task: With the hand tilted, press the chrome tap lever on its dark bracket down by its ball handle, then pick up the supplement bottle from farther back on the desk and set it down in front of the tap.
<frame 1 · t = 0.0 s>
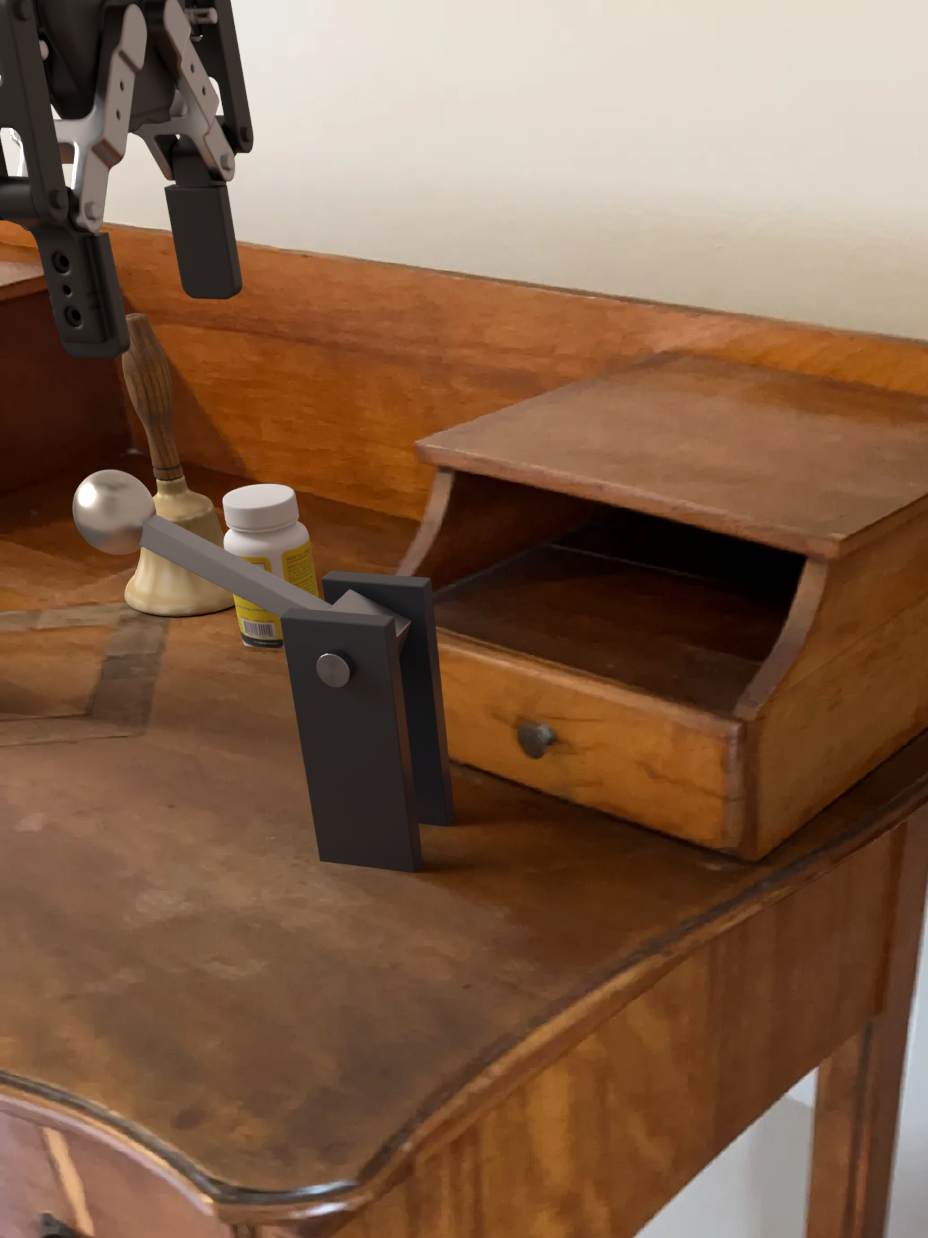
hand: (159, 325, 55), 23 cm above the table, tool pointing down, fingers open, 8 cm apart
tap lever: (237, 575, 61), point 13 cm above the table, hinge at 24.0°
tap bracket: (393, 875, 68), on the table
hand bell: (193, 594, 96), on the table
supplement bottle: (284, 644, 89), on the table
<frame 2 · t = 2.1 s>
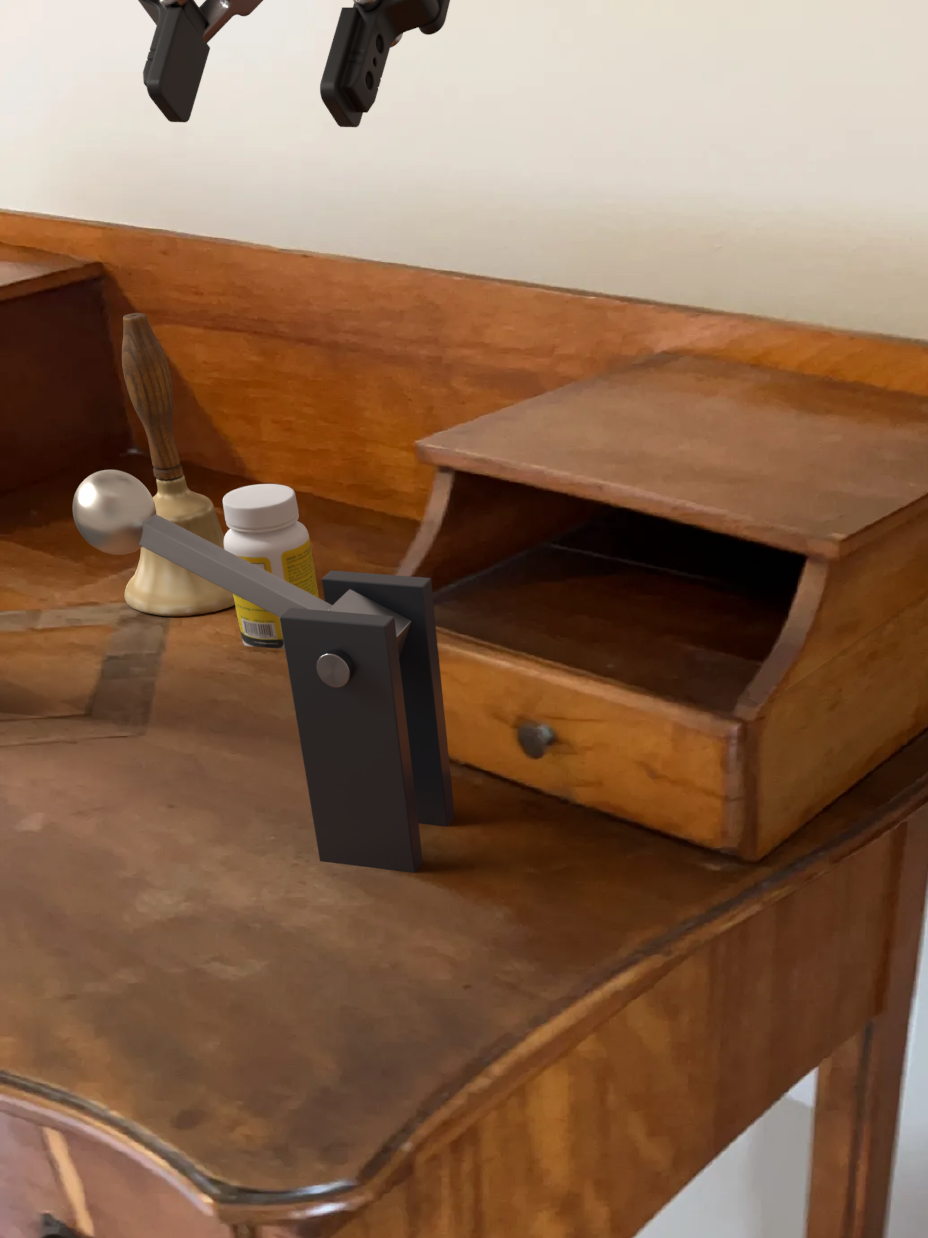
hand: (250, 111, 63), 28 cm above the table, tool tilted 45°, fingers open, 8 cm apart
nothing on the table moved.
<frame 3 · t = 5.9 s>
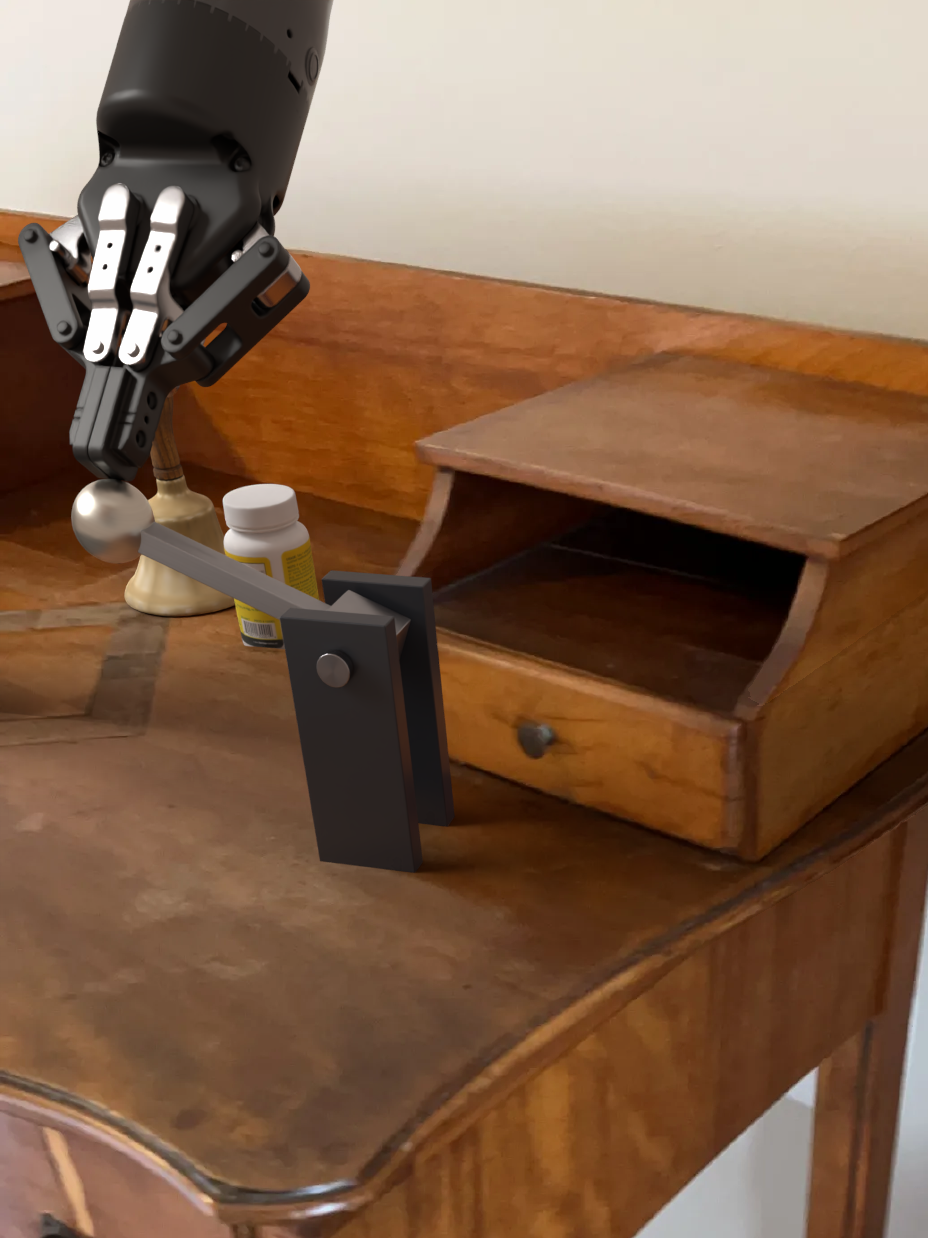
hand: (102, 470, 60), 17 cm above the table, tool tilted 45°, fingers closed
tap lever: (236, 580, 61), point 13 cm above the table, hinge at 21.9°, touching gripper
everything else where it was.
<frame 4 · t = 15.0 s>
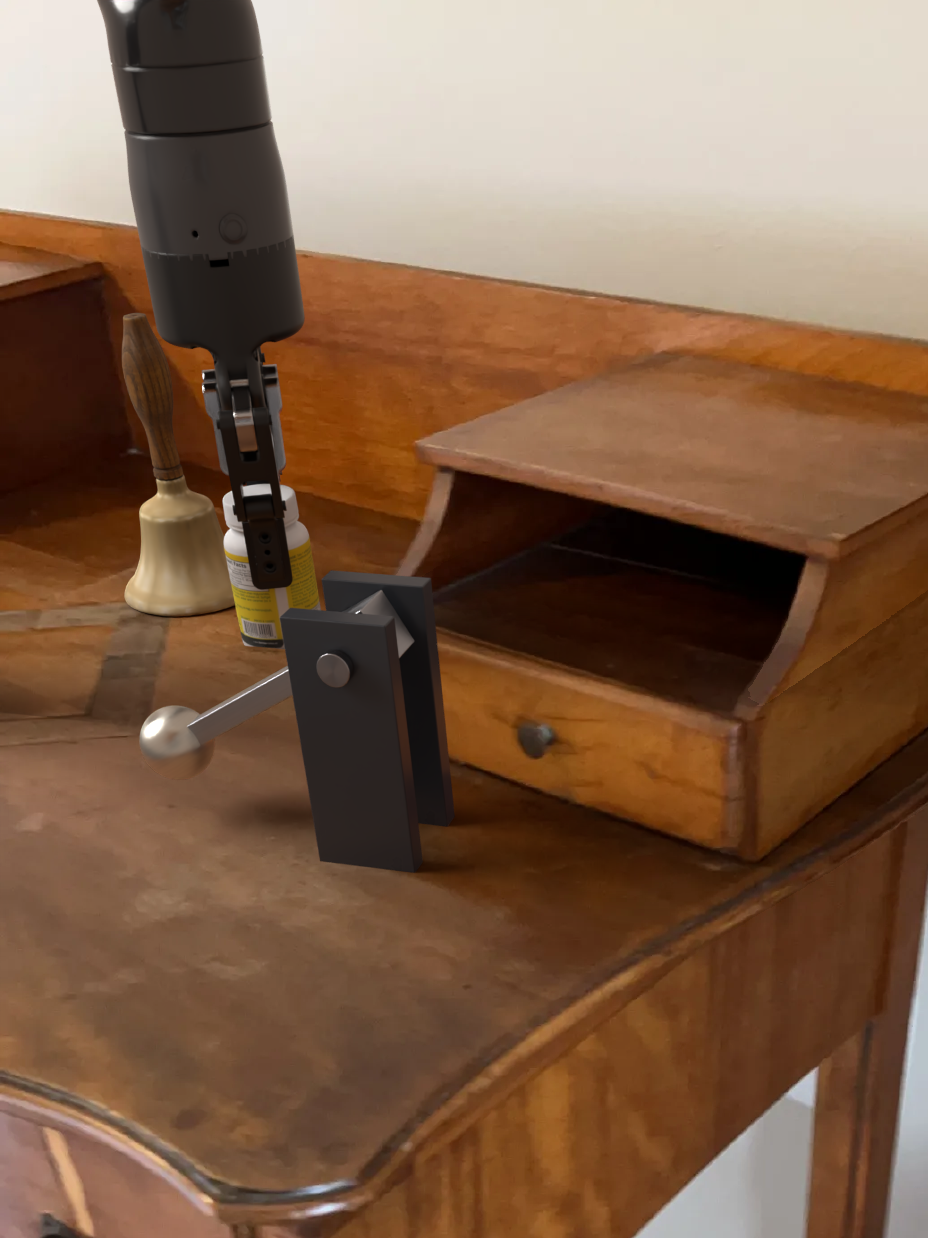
hand: (271, 567, 86), 4 cm above the table, tool pointing down, fingers closed on supplement bottle, 4 cm apart
tap lever: (264, 694, 64), point 8 cm above the table, hinge at -30.1°
supplement bottle: (284, 644, 89), on the table, touching gripper
everything else where it was.
when the fingers open (4 cm above the table, at t = 21.0 s): supplement bottle stays where it is, on the table.
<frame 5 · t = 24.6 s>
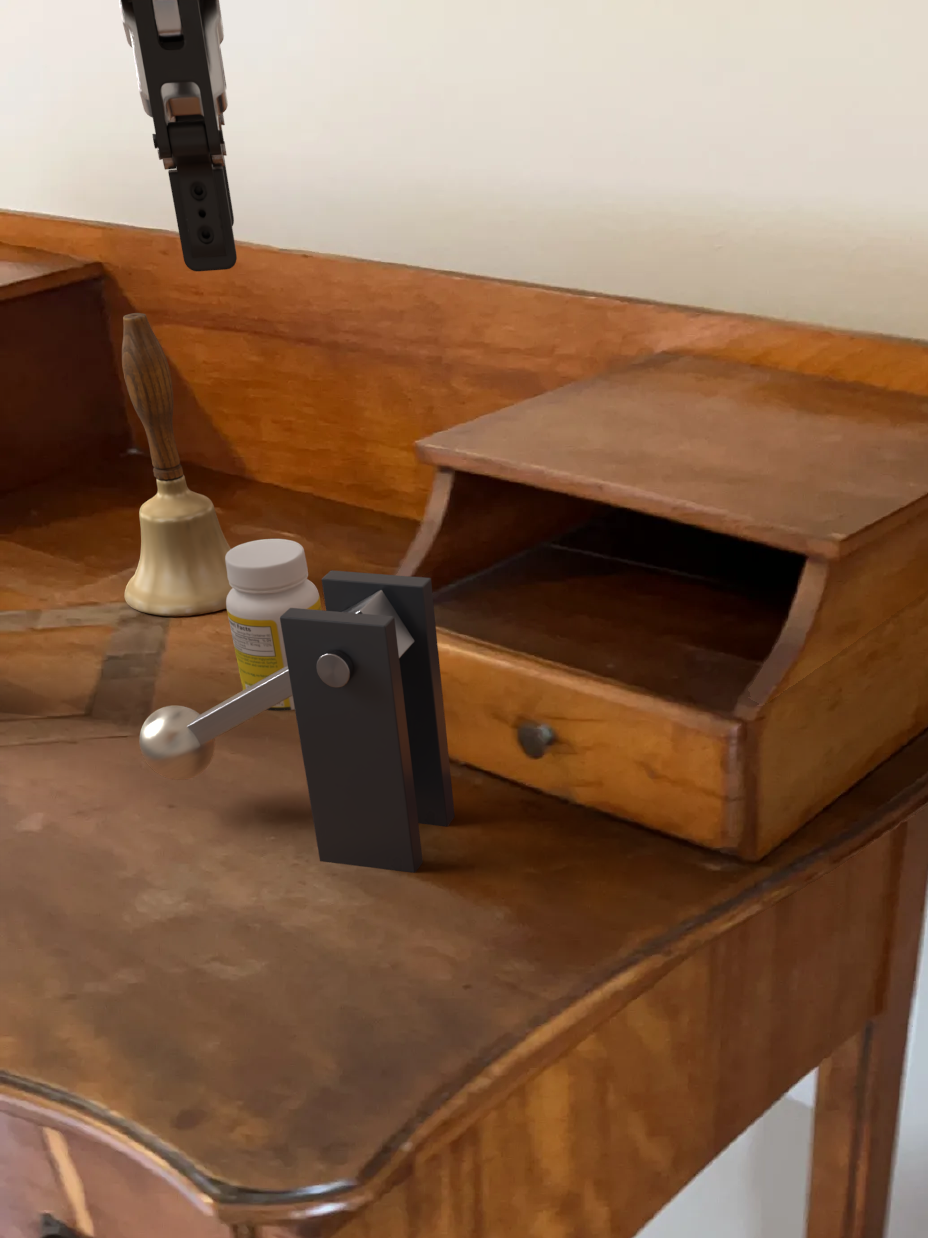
hand: (212, 249, 68), 22 cm above the table, tool pointing down, fingers open, 8 cm apart
supplement bottle: (291, 710, 82), on the table
everything else where it was.
at the end: tap lever at -30° (first picture: +24°); supplement bottle 0.2 cm from the target spot on the table beside the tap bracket, on the table; supplement bottle tilted 0° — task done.
